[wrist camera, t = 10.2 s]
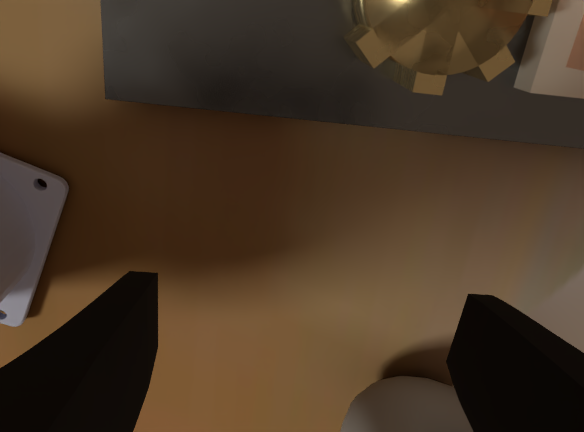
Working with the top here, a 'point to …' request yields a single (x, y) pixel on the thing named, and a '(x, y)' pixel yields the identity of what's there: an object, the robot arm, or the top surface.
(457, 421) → the donut
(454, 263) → the top surface
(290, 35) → the carrier plate
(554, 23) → the square sleeve on tile
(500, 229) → the top surface
